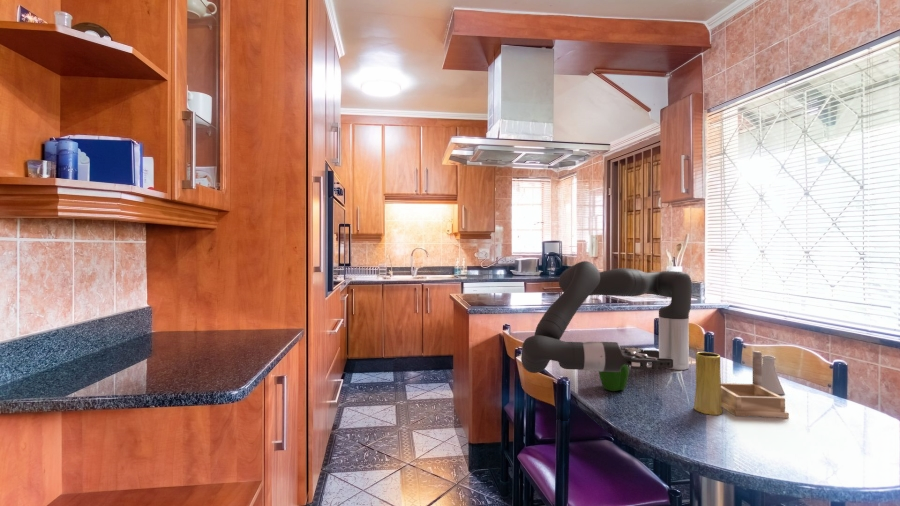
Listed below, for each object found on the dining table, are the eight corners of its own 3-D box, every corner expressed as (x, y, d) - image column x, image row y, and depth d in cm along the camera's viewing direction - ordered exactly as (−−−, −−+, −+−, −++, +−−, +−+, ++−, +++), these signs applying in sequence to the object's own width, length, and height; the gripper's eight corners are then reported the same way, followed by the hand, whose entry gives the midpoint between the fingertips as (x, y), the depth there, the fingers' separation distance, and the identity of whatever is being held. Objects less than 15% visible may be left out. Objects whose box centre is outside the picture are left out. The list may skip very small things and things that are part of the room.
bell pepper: (615, 383, 126) (615, 350, 126) (634, 391, 118) (634, 357, 118) (591, 386, 124) (591, 352, 124) (610, 395, 116) (610, 359, 116)
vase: (697, 404, 109) (697, 350, 109) (725, 410, 104) (725, 354, 104) (690, 410, 104) (690, 354, 104) (718, 417, 100) (719, 358, 100)
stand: (708, 398, 113) (709, 350, 113) (758, 399, 112) (758, 351, 112) (735, 416, 101) (736, 362, 101) (792, 418, 100) (792, 363, 100)
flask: (790, 396, 115) (790, 360, 115) (761, 394, 116) (761, 359, 116) (775, 388, 122) (775, 354, 122) (748, 386, 123) (748, 353, 123)
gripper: (607, 348, 100) (678, 350, 98) (593, 336, 114) (654, 338, 112) (607, 379, 100) (677, 382, 98) (592, 363, 114) (654, 366, 112)
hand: (665, 358), depth 105 cm, fingers open, 8 cm apart
